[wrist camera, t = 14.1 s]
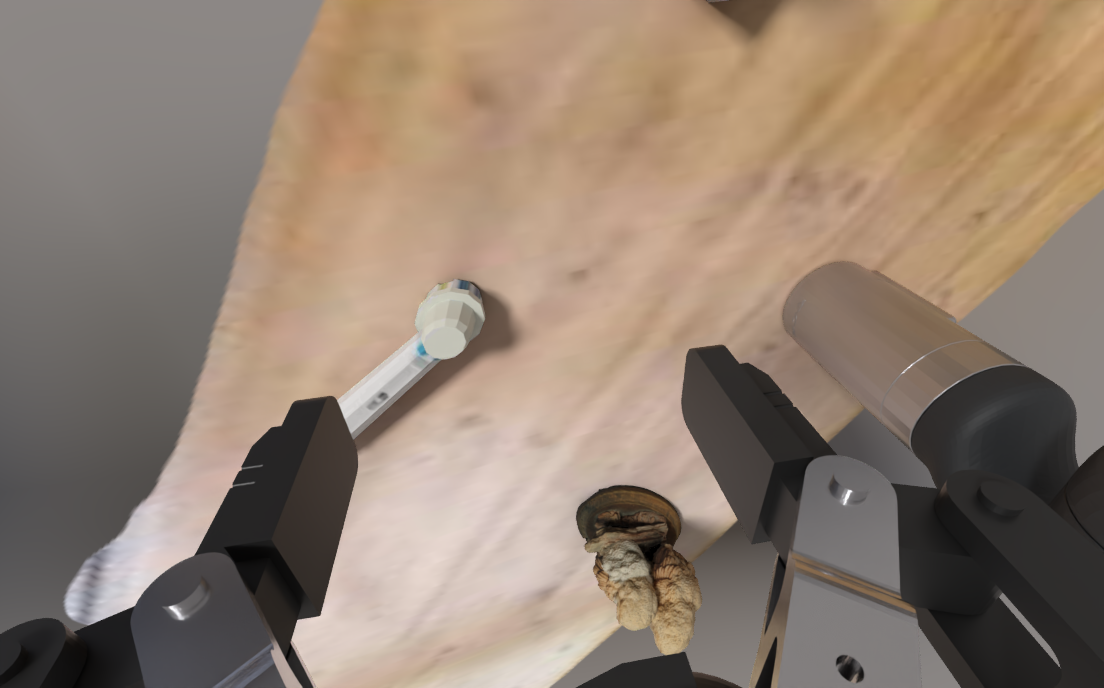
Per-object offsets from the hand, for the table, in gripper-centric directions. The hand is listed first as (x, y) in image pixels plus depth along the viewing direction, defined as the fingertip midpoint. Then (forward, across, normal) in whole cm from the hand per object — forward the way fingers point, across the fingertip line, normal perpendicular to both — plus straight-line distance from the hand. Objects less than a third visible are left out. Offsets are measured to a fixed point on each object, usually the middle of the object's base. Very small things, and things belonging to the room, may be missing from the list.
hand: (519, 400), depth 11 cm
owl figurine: (+30, -12, +48) cm, 58 cm away
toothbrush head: (+31, +12, +19) cm, 38 cm away
